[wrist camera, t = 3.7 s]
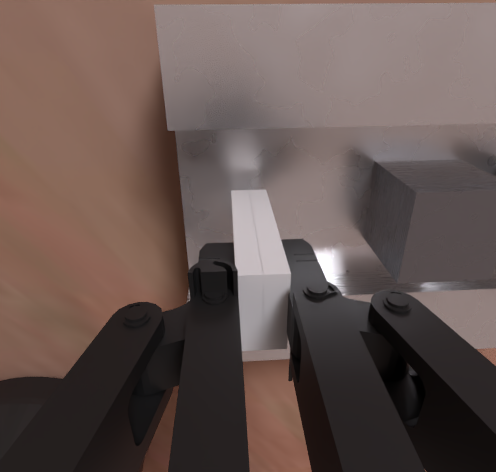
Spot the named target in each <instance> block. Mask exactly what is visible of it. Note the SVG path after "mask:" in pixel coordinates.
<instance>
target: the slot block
mask: <svg viewBox="0 0 496 472" xmlns="http://www.w3.org/2000/svg"><path fill="white" fill-rule="evenodd" d="M154 9H155V19H156V28H157V37H158V46H159V55H160V65H161V74H162V83H163V92H164V101H165V110H166V120H167V129H168V131H175V136H176V146H177V156H178V166H179V176H180V186H181V196H182V206H183V216H184V226H185V236H186V246H187V256H188V266H189V269H190V268H191V267H192V266H193V265H195V264H196V263H198V260H199V251H200V250H201V248H202V247H203V246H204V245H205V244H206V243H228V242H233V229H232V199H231V191H233V190H266V191H267V194H268V198H269V201H270V204H271V208H272V211H273V214H274V218H275V221H276V224H277V228H278V231H279V235H280V238H281V240H282V239H304V240H305V241H306V242H308V243H309V244H310V245H311V246H312V248H313V250H314V252H315V255H316V257H317V259H318V261H319V264H320V266H321V268H322V270H323V273H324V275H325V277H326V280H327V281H328V282H330V283H332V284H334V285H335V286H337V288H338V289H339V290H340V292H341V294H342V296H343V297H346V298H349V299H353V300H358V301H364V302H371V297H372V296H373V295H374V294H375V293H377V292H379V291H382V290H395V291H401V292H404V293H406V294H409V295H411V296H413V297H414V298H416V299H417V300H419V301H420V302H421V303H422V304H423V305H425V306H426V307H427V308H428V309H429V310H430V311H432V312H433V313H434V314H435V315H436V316H437V317H439V318H440V319H441V320H442V321H443V322H444V323H446V324H447V325H448V326H449V327H450V328H451V329H453V330H454V331H455V332H456V333H457V334H458V335H460V336H461V337H462V338H463V339H464V340H466V341H467V342H468V343H469V344H470V345H471V346H473V347H474V348H475V349H483V348H496V266H495V269H494V272H493V275H492V278H491V280H473V281H451V282H429V283H406V284H397V283H396V282H395V280H394V279H393V277H392V276H391V275H390V273H389V272H388V271H387V269H386V268H385V267H384V265H383V264H382V263H381V261H380V260H379V258H378V257H377V256H376V254H375V253H374V252H373V250H372V249H371V248H370V246H369V245H368V244H367V242H366V241H365V239H364V236H365V230H366V223H367V217H368V210H369V203H370V197H371V190H372V184H373V177H374V171H375V164H376V162H391V161H427V160H462V161H464V162H466V163H468V164H471V165H473V166H475V167H477V168H479V169H481V170H483V171H485V172H487V173H490V174H492V175H494V176H496V3H382V4H210V5H154ZM188 301H190V290H189V288H188V296H187V302H188ZM280 359H290V345H289V341H288V343H287V349H276V350H256V351H242V361H262V360H280Z"/></svg>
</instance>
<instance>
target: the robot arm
mask: <svg viewBox="0 0 496 472" xmlns="http://www.w3.org/2000/svg"><path fill="white" fill-rule="evenodd" d="M231 199H232V229H233V242H228V243H206V244H205V245H204V246H203V247H202V248H201V250H200V251H199V260H198V263H196V264H195V265H193V266H192V267H191V268H190V269H189V271H188V280H189V290H190V301H188V302H187V303H186V304H184V305H182V306H181V307H178V308H176V309H173V310H169V311H165V312H162V310H161V308H160V307H158V306H157V305H156V304H153V303H149V302H137V303H133V304H129V305H127V306H125V307H123V308H121V309H119V310H118V311H117V312H116V313H115V314H113V316H112V317H111V318H110V319H109V321H108V322H107V323H106V325H105V326H104V327H103V328H102V330H101V331H100V332H99V334H98V335H97V336H96V337H95V339H94V340H93V341H92V343H91V344H90V345H89V346H88V348H87V349H86V350H85V352H84V353H83V354H82V355H81V357H80V358H79V359H78V361H77V362H76V363H75V364H74V366H73V367H72V368H71V370H70V371H69V372H68V373H67V375H66V376H65V377H64V379H57V378H48V377H22V378H13V379H7V380H3V381H0V472H142V468H143V463H144V458H145V454H146V452H147V450H148V447H149V445H150V443H151V440H152V438H153V436H154V434H155V431H156V429H157V427H158V424H159V422H160V420H161V417H162V415H163V413H164V410H165V408H166V406H167V403H168V401H169V399H170V396H171V394H172V391H173V387H175V386H178V385H179V390H178V398H177V406H176V414H175V422H174V430H173V437H172V445H171V453H170V461H169V469H168V472H250V471H249V455H248V440H247V424H246V408H245V392H244V377H243V361H242V351H256V350H276V349H287V343H288V341H289V345H290V362H289V380H288V381H292V377H293V382H294V387H295V391H296V396H297V401H298V406H299V411H300V416H301V421H302V426H303V430H304V435H305V440H306V445H307V450H308V455H309V460H310V465H311V469H312V472H426V471H427V472H496V366H495V365H494V364H492V363H491V362H490V361H489V360H488V359H487V358H485V357H484V356H483V355H482V354H481V353H480V352H478V351H477V350H476V349H475V348H474V347H473V346H471V345H470V344H469V343H468V342H467V341H466V340H464V339H463V338H462V337H461V336H460V335H458V334H457V333H456V332H455V331H454V330H453V329H451V328H450V327H449V326H448V325H447V324H446V323H444V322H443V321H442V320H441V319H440V318H439V317H437V316H436V315H435V314H434V313H433V312H432V311H430V310H429V309H428V308H427V307H426V306H425V305H423V304H422V303H421V302H420V301H419V300H417V299H416V298H414V297H413V296H411V295H409V294H406V293H404V292H401V291H395V290H382V291H379V292H377V293H375V294H374V295H373V296H372V297H371V302H364V301H358V300H353V299H349V298H346V297H343V296H342V294H341V292H340V290H339V289H338V288H337V286H335V285H334V284H332V283H330V282H328V281H327V280H326V277H325V275H324V273H323V270H322V268H321V266H320V264H319V261H318V259H317V257H316V255H315V252H314V250H313V248H312V246H311V245H310V244H309V243H308V242H306V241H305V240H304V239H282V240H281V238H280V235H279V231H278V228H277V224H276V221H275V218H274V214H273V211H272V208H271V204H270V201H269V198H268V194H267V191H266V190H233V191H231ZM410 366H411V367H412V368H413V369H412V368H411V367H410ZM425 470H426V471H425Z"/></svg>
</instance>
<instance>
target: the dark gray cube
mask: <svg viewBox="0 0 496 472" xmlns="http://www.w3.org/2000/svg"><path fill="white" fill-rule="evenodd" d="M364 239H365V241H366V242H367V244H368V245H369V246H370V248H371V249H372V250H373V252H374V253H375V254H376V256H377V257H378V258H379V260H380V261H381V263H382V264H383V265H384V267H385V268H386V269H387V271H388V272H389V273H390V275H391V276H392V277H393V279H394V280H395V282H396V283H397V284H406V283H429V282H451V281H473V280H491V278H492V275H493V272H494V269H495V266H496V176H494V175H492V174H490V173H487V172H485V171H483V170H481V169H479V168H477V167H475V166H473V165H471V164H468V163H466V162H464V161H462V160H427V161H391V162H376V164H375V171H374V177H373V184H372V190H371V197H370V203H369V210H368V217H367V223H366V230H365V236H364Z"/></svg>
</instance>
